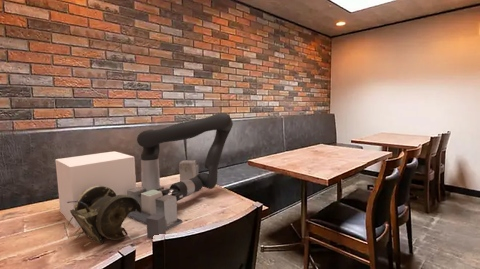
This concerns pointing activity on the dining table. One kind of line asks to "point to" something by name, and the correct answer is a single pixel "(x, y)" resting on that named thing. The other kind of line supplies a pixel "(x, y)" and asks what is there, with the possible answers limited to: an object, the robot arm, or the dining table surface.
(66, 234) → the dining table surface
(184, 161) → the circuit breaker
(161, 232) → the relay
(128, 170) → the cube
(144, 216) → the rail
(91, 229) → the bench grinder
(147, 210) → the block
